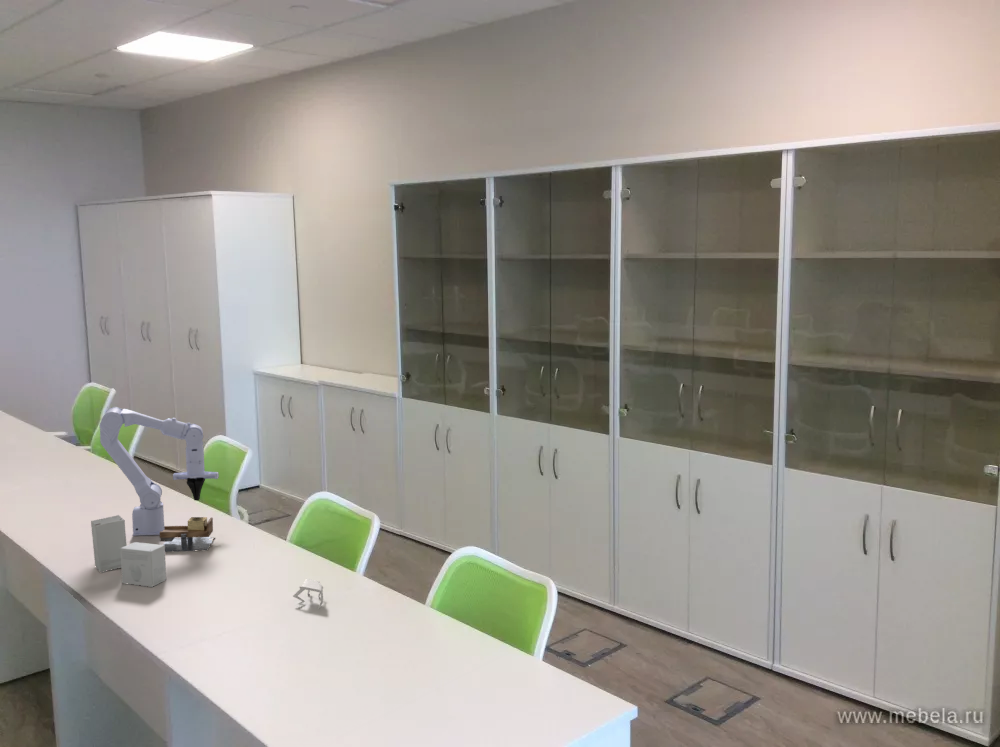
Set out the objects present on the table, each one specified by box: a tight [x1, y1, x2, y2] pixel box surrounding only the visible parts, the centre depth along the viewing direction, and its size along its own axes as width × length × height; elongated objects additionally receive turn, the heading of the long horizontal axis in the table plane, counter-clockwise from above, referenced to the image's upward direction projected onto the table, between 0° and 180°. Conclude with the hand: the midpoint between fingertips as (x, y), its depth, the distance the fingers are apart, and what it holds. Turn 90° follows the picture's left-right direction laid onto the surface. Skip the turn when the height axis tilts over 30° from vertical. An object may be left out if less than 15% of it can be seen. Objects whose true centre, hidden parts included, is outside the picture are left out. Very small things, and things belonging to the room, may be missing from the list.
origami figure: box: [292, 578, 324, 610], centre depth 226 cm, size 12×8×5 cm
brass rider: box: [187, 516, 208, 531], centre depth 269 cm, size 5×4×4 cm
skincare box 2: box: [120, 541, 167, 588], centre depth 239 cm, size 10×6×10 cm, turn 74°
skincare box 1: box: [90, 514, 128, 573], centre depth 249 cm, size 8×6×15 cm
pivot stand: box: [162, 534, 213, 553], centre depth 270 cm, size 15×12×5 cm
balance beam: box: [159, 517, 214, 543], centre depth 269 cm, size 15×6×6 cm, turn 97°
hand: (196, 499), depth 285 cm, fingers closed
